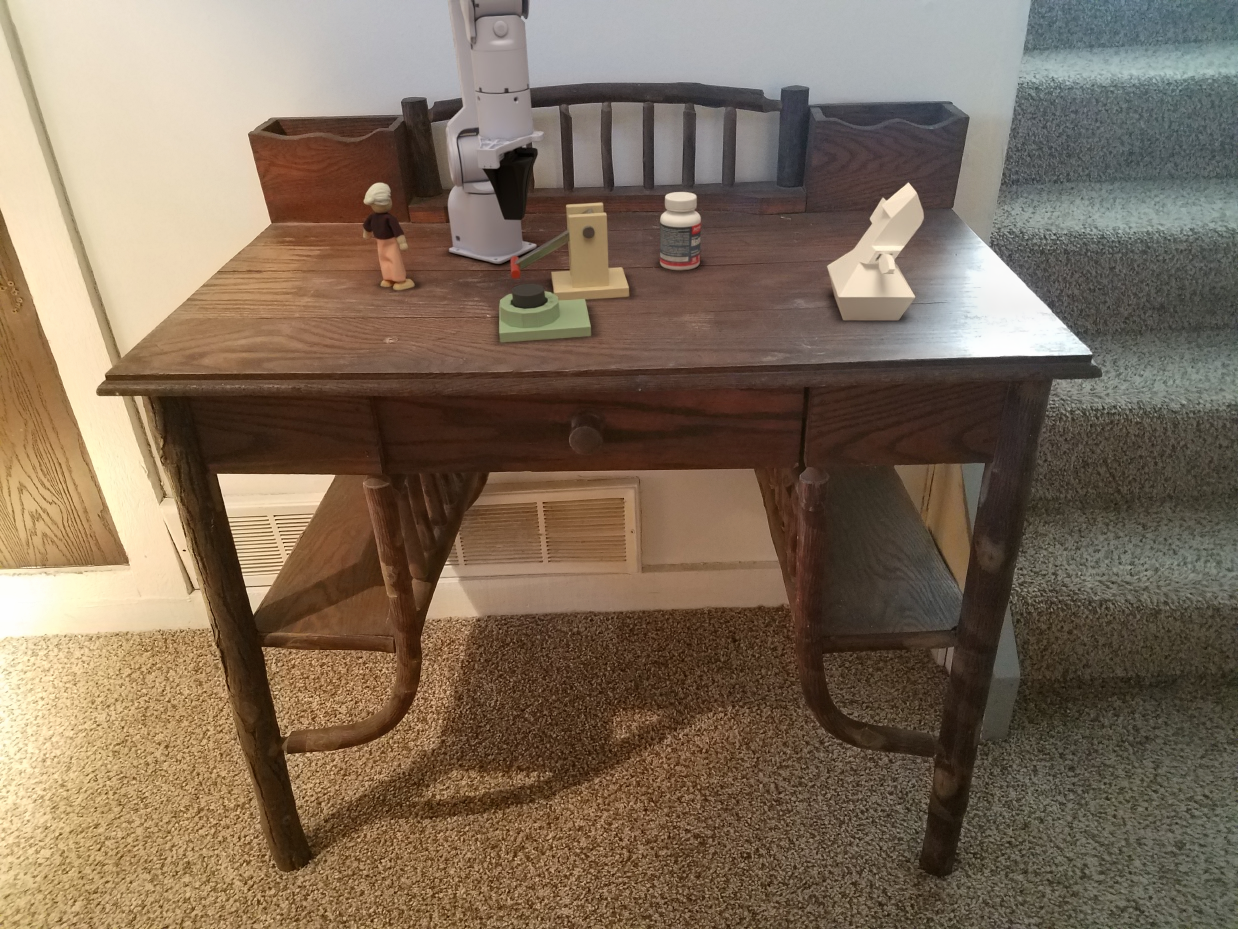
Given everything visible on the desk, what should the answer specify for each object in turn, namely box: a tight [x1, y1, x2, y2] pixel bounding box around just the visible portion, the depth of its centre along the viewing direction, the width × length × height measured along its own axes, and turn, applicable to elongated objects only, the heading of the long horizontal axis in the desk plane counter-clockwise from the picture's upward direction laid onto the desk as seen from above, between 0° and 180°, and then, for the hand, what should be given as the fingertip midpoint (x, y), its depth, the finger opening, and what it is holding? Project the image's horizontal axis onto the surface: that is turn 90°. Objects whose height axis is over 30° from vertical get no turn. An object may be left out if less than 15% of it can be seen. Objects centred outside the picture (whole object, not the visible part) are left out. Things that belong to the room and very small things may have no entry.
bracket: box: [550, 202, 630, 301], centre depth 105 cm, size 9×7×10 cm
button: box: [511, 283, 545, 309], centre depth 97 cm, size 4×4×2 cm
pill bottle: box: [659, 191, 702, 272], centre depth 111 cm, size 5×5×9 cm
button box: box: [498, 291, 592, 343], centre depth 98 cm, size 10×8×3 cm
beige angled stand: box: [826, 182, 925, 321], centre depth 96 cm, size 8×14×14 cm, turn 176°
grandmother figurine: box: [362, 182, 416, 291], centre depth 107 cm, size 8×4×13 cm, turn 65°
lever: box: [510, 208, 594, 280], centre depth 104 cm, size 12×5×2 cm, turn 96°
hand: (514, 218), depth 98 cm, fingers closed
